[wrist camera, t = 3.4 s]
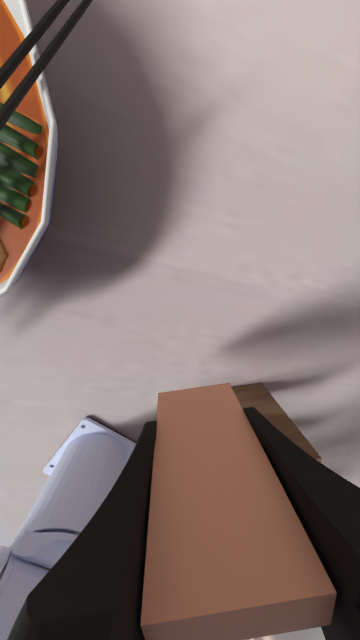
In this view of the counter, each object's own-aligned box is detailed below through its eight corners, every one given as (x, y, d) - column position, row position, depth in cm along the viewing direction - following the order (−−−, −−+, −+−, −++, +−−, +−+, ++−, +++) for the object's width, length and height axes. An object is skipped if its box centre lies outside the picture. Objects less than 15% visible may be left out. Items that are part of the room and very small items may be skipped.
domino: (261, 394, 22) (319, 475, 14) (219, 400, 22) (251, 485, 14) (261, 382, 22) (321, 458, 13) (218, 388, 22) (251, 468, 13)
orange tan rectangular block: (230, 402, 14) (330, 625, 5) (161, 411, 14) (150, 655, 5) (229, 383, 14) (336, 592, 5) (158, 393, 13) (140, 625, 5)
